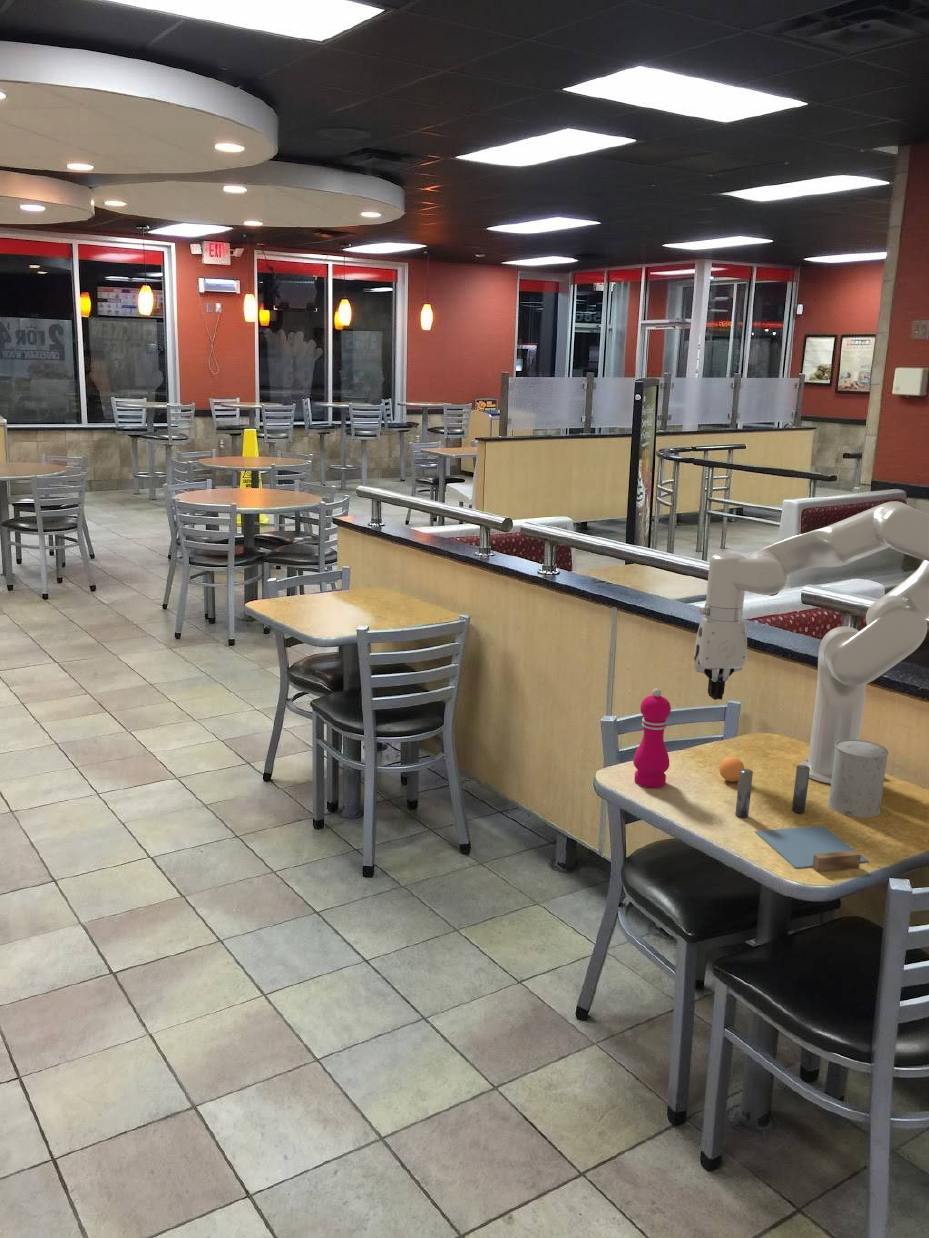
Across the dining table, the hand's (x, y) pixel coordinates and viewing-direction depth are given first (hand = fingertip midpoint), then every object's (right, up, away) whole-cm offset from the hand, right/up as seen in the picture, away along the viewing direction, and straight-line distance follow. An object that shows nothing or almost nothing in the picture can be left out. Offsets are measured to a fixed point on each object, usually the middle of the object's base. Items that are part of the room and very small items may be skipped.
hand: (715, 697), depth 214 cm
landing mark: (+8, -24, -34) cm, 42 cm away
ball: (+2, -14, -6) cm, 16 cm away
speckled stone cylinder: (+23, -20, -16) cm, 35 cm away
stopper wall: (+10, -26, -41) cm, 50 cm away
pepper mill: (-15, -17, -7) cm, 24 cm away
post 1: (0, -21, -22) cm, 30 cm away
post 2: (+11, -20, -19) cm, 30 cm away
